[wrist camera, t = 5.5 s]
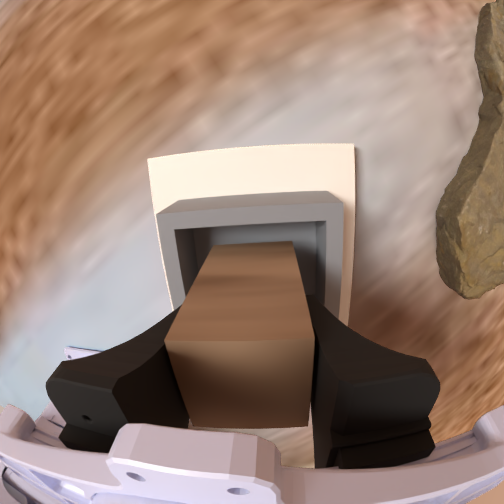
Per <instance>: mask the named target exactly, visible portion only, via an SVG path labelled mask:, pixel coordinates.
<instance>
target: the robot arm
mask: <svg viewBox="0 0 504 504" xmlns="http://www.w3.org/2000/svg"><path fill="white" fill-rule="evenodd" d="M305 296H306V301H307V305H308V309H309V314H310V318H311V323H312V327H313V332H314V336H315V342H314V359H313V374H312V388H311V400H310V402H311V413H312V425H313V439H314V458H315V469H313V468H298V467H287V466H281V454H280V452H279V450H278V449H277V447H276V446H275V444H274V443H272V442H270V441H268V440H266V439H263V438H261V437H259V436H257V435H252V434H245V433H239V432H223V431H206V430H193V429H188V424H189V418H190V417H189V414H188V411H187V409H186V406H185V403H184V400H183V398H182V395H181V392H180V389H179V386H178V383H177V380H176V377H175V374H174V371H173V368H172V365H171V362H170V358H169V355H168V352H167V348H166V345H165V342H164V340H165V338H166V336H167V334H168V332H169V330H170V328H171V326H172V324H173V322H174V320H175V318H176V316H177V314H178V312H179V310H180V308H181V306H182V305H181V306H179V307H178V308H177V309H175V310H174V311H173V312H172V313H170V314H169V315H168V316H166V317H165V318H164V319H162V320H161V321H160V322H158V323H157V324H155V325H154V326H152V327H151V328H149V329H148V330H146V331H145V332H143V333H142V334H140V335H138V336H136V337H134V338H133V339H131V340H129V341H127V342H125V343H122V344H120V345H118V346H115V347H113V348H111V349H108V350H106V351H103V352H99V351H91V350H84V349H78V348H71V347H66V348H65V349H64V352H65V355H66V357H67V359H68V360H67V361H62V362H61V363H60V365H59V366H58V367H57V369H56V370H55V371H54V372H53V374H52V375H51V376H50V378H49V379H48V380H47V382H46V390H47V394H48V396H49V398H50V400H51V401H50V402H49V404H48V405H47V406H46V408H45V409H44V411H43V412H42V414H41V415H40V416H39V418H38V419H37V420H36V421H35V422H34V421H33V420H32V418H31V417H30V416H29V415H28V414H27V413H26V412H25V411H23V410H21V409H19V408H17V407H15V406H13V405H11V404H8V405H7V406H6V407H5V409H4V410H3V411H2V413H1V414H0V504H466V503H468V502H469V501H471V500H473V499H475V498H477V497H479V496H480V495H482V494H484V493H486V492H488V491H489V490H491V489H493V488H494V487H496V486H497V485H498V484H500V483H501V482H502V481H503V480H504V405H502V406H500V407H498V408H496V409H494V410H492V411H489V412H487V413H486V414H484V415H483V416H481V417H480V418H479V419H478V420H477V422H476V423H475V425H474V427H473V429H472V430H470V431H468V432H465V433H463V434H460V435H458V436H455V437H453V438H450V439H447V440H444V441H441V442H439V443H436V444H434V441H433V439H432V436H431V434H430V432H429V429H430V428H431V422H430V420H429V418H428V415H429V413H430V411H431V410H432V408H433V406H434V404H435V402H436V400H437V397H438V395H439V392H440V382H439V380H438V378H437V376H436V375H435V373H434V371H433V369H432V368H431V366H430V365H429V363H428V362H427V361H426V359H422V358H417V357H413V356H409V355H405V354H401V353H399V352H396V351H393V350H390V349H387V348H385V347H382V346H380V345H378V344H376V343H374V342H372V341H370V340H368V339H366V338H364V337H363V336H361V335H359V334H358V333H356V332H355V331H353V330H352V329H350V328H349V327H347V326H346V325H345V324H344V323H342V322H341V321H340V320H339V319H337V318H336V317H335V316H334V315H333V314H332V313H331V312H330V311H329V310H328V309H327V308H326V307H325V306H324V305H323V304H322V303H321V302H320V301H319V300H318V299H317V298H316V297H315V296H314V295H305Z"/></svg>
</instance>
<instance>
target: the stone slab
mask: <svg viewBox="0 0 504 504" xmlns="http://www.w3.org/2000/svg"><path fill="white" fill-rule="evenodd" d="M475 59H476V62H477V66H478V70H479V72H478V74H479V77H480V80H481V85H482V91H483V94H484V99H483V103H482V104H481V106H480V108H479V113H478V115H479V124H478V128H477V131H476V134H475V136H474V138H473V140H472V143H471V146H470V149H469V151H468V154H467V155H466V156H464V157H463V159H462V161H461V164H460V166H459V168H458V172H457V175H456V176H455V177H454V178H453V179H452V181H451V182H450V183H449V184H448V186H447V187H446V188H445V193H444V195H443V196H442V198H441V200H440V203H439V206H438V209H437V211H436V218H437V233H436V235H437V250H436V254H437V262H438V265H439V268H440V271H439V274H440V276H441V278H442V280H443V281H444V282H445V284H446V285H447V286H448V287H449V288H451V289H453V290H455V291H456V292H457V293H458V294H459V295H460V296H462V297H463V298H464V299H475V298H480V297H481V296H482V295H483V294H484V293H485V292H486V291H489V290H492V289H495V287H496V286H498V285H500V284H503V283H504V0H496V2H492V3H487V4H486V5H485V6H484V7H482V9H481V11H480V14H479V24H478V26H477V34H476V49H475Z"/></svg>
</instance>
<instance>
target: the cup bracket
mask: <svg viewBox="0 0 504 504" xmlns="http://www.w3.org/2000/svg"><path fill="white" fill-rule="evenodd" d="M148 169H149V177H150V185H151V193H152V200H153V208H154V214H155V221H156V227H157V233H158V239H159V245H160V251H161V256H162V262H163V267H164V272H165V277H166V282H167V287H168V292H169V296H170V301H171V305H172V310H173V311H174V310H175V309H177V308H178V307H179V306H181V305H182V304H183V302H184V300H185V298H186V296H187V294H188V292H189V290H190V288H191V286H192V285H193V283H194V281H195V279H196V277H197V275H198V273H199V271H200V269H201V267H202V266H203V264H204V262H205V260H206V258H207V256H208V254H209V252H210V251H211V249H212V247H213V245H225V244H242V243H260V242H278V241H292V243H293V247H294V251H295V255H296V259H297V263H298V267H299V271H300V275H301V279H302V283H303V288H304V292H305V295H314V296H315V297H316V298H317V299H318V300H319V301H320V302H321V303H322V304H323V305H324V306H325V307H326V308H327V309H328V310H329V311H330V312H331V313H332V314H333V315H334V316H335V317H336V318H337V319H339V320H340V321H341V322H342V323H344V324H345V325H346V326H347V327H348V320H349V310H350V299H351V288H352V274H353V258H354V235H355V158H354V144H287V145H266V146H251V147H238V148H227V149H217V150H208V151H199V152H191V153H183V154H176V155H169V156H162V157H156V158H150V159H148Z"/></svg>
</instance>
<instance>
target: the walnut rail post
mask: <svg viewBox="0 0 504 504" xmlns="http://www.w3.org/2000/svg"><path fill="white" fill-rule="evenodd" d="M164 342H165V345H166V348H167V352H168V355H169V358H170V362H171V365H172V368H173V371H174V374H175V377H176V380H177V383H178V386H179V389H180V392H181V395H182V398H183V400H184V403H185V406H186V409H187V411H188V414H189V417H190V419H191V422H192V425H193V426H197V427H212V428H239V429H263V428H290V427H305V426H308V421H309V411H310V400H311V388H312V374H313V359H314V342H315V336H314V332H313V327H312V323H311V318H310V314H309V309H308V305H307V301H306V296H305V292H304V288H303V283H302V279H301V275H300V271H299V267H298V263H297V259H296V255H295V251H294V247H293V243H292V241H278V242H260V243H242V244H225V245H213V247H212V249H211V251H210V252H209V254H208V256H207V258H206V260H205V262H204V264H203V266H202V267H201V269H200V271H199V273H198V275H197V277H196V279H195V281H194V283H193V285H192V286H191V288H190V290H189V292H188V294H187V296H186V298H185V300H184V302H183V304H182V306H181V308H180V310H179V312H178V314H177V316H176V318H175V320H174V322H173V324H172V326H171V328H170V330H169V332H168V334H167V336H166V338H165V340H164Z"/></svg>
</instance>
